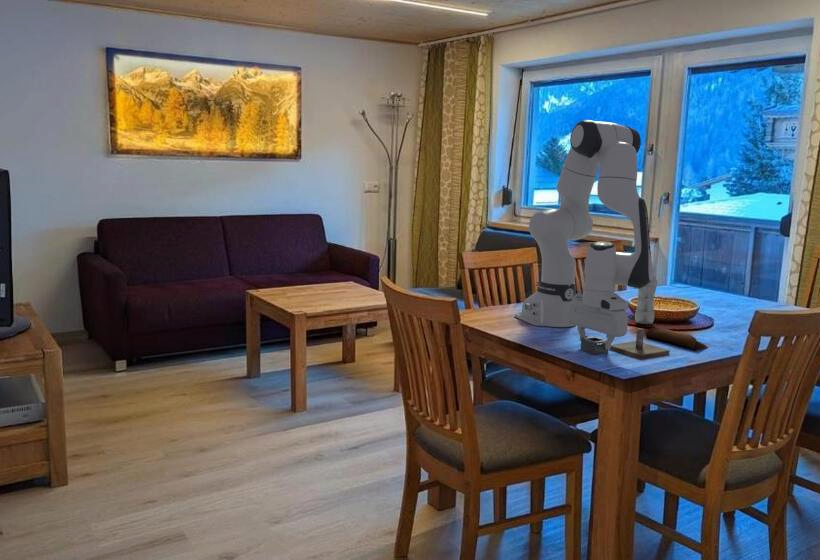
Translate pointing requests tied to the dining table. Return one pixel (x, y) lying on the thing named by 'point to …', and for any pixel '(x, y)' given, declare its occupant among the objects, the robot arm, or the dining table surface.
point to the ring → (593, 345)
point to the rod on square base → (639, 348)
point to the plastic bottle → (646, 303)
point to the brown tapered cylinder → (675, 338)
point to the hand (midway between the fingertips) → (594, 345)
